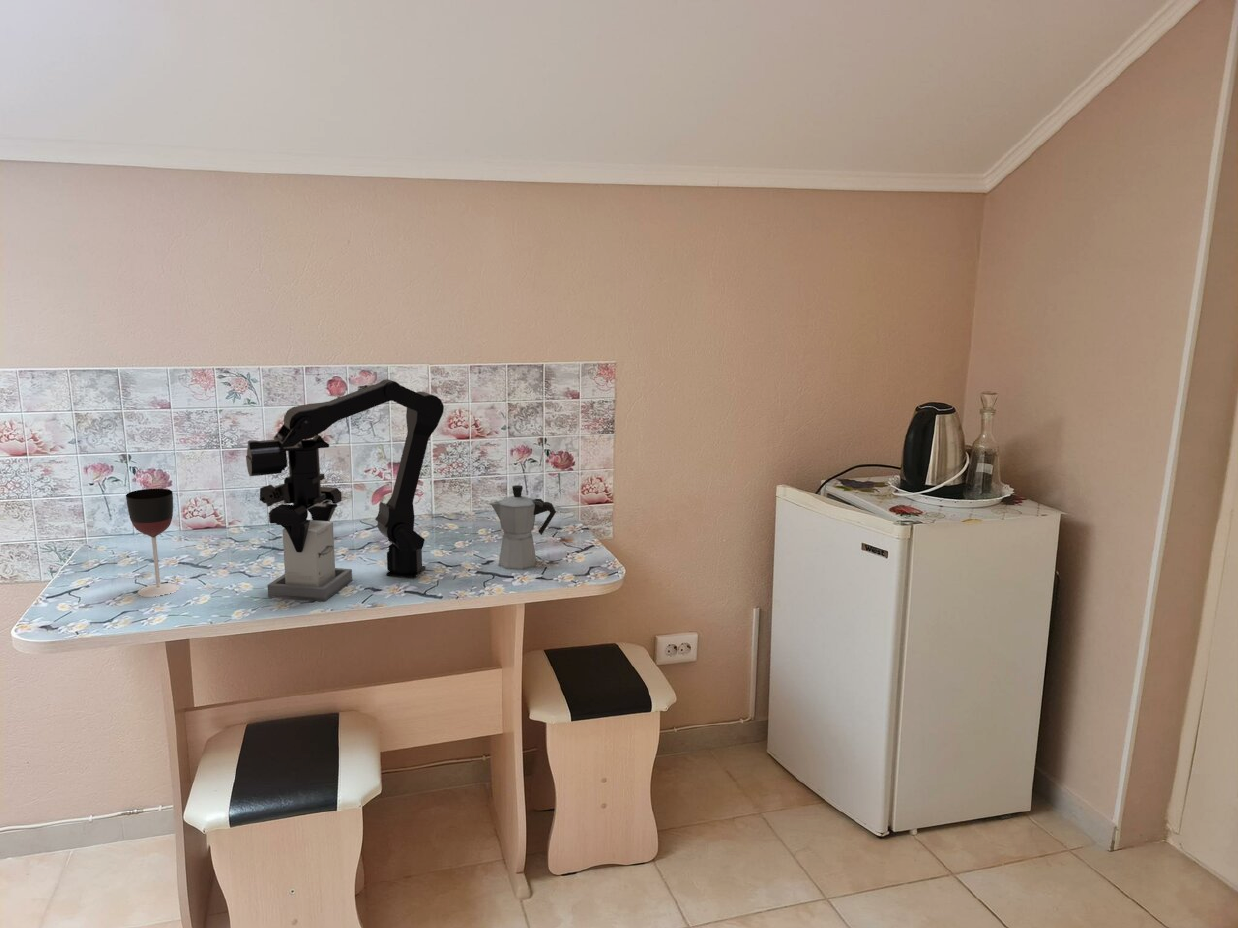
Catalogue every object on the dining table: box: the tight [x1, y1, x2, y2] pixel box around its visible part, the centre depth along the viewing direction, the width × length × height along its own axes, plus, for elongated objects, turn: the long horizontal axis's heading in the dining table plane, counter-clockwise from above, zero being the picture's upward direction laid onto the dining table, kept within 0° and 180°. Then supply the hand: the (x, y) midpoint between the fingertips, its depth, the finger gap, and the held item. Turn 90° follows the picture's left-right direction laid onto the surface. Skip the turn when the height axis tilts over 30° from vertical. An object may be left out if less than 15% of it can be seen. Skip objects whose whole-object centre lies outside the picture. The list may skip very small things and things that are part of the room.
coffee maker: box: [488, 484, 557, 571], centre depth 192 cm, size 15×9×18 cm, turn 88°
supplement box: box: [281, 519, 336, 587], centre depth 175 cm, size 7×7×13 cm
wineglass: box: [125, 488, 181, 598], centre depth 171 cm, size 8×9×20 cm
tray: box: [267, 567, 353, 602], centre depth 176 cm, size 12×12×2 cm
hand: (309, 546), depth 174 cm, fingers open, 8 cm apart
